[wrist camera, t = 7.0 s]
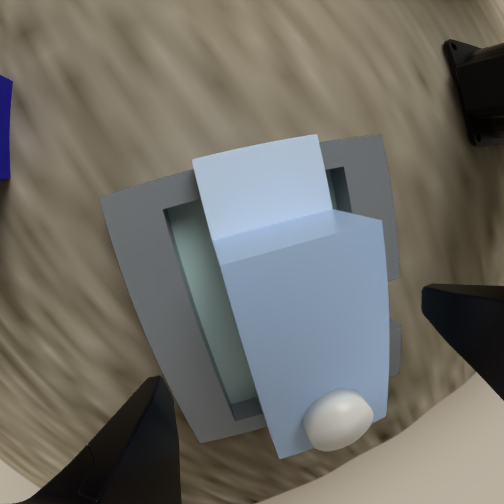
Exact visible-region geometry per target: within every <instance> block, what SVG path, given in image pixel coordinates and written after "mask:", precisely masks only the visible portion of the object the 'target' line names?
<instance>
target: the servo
mask: <svg viewBox="0 0 504 504" xmlns="http://www.w3.org/2000/svg"><path fill="white" fill-rule="evenodd" d="M192 164H193V168H194V172H195V176H196V180H197V184H198V188H199V192H200V196H201V200H202V204H203V208H204V212H205V216H206V220H207V224H208V227H209V233H210V236H211V240H212V244H213V248H214V251H215V255H216V259H217V262H218V266H219V270H220V273H221V277H222V280H223V284H224V287H225V291H226V294H227V298H228V301H229V305H230V308H231V312H232V315H233V319H234V322H235V326H236V329H237V332H238V336H239V339H240V342H241V346H242V349H243V352H244V356H245V359H246V362H247V365H248V369H249V372H250V375H251V378H252V381H253V384H254V387H255V390H256V393H257V396H258V399H259V403H260V406H261V409H262V412H263V415H264V418H265V421H266V424H267V427H268V430H269V433H270V436H271V439H272V442H273V443H274V446H275V449H276V451H277V454H278V457H279V460H280V459H283V458H286V457H289V456H292V455H295V454H298V453H301V452H304V451H307V450H310V449H313V448H316V449H317V450H320V451H334V450H338V449H341V448H344V447H346V446H348V445H350V444H352V443H353V442H355V441H356V440H358V439H359V438H360V437H361V436H362V435H363V434H364V433H365V432H366V431H367V430H368V428H369V427H370V425H371V424H372V423H374V422H376V421H378V420H380V419H382V418H384V417H386V411H387V398H388V380H389V298H388V280H387V266H386V254H385V244H384V235H383V226H382V220H378V219H374V218H370V217H365V216H361V215H357V214H352V213H348V212H343V211H339V210H334V209H332V203H331V198H330V192H329V187H328V182H327V177H326V172H325V167H324V163H323V158H322V154H321V149H320V145H319V140H318V136H317V134H314V135H308V136H302V137H296V138H290V139H284V140H279V141H273V142H268V143H263V144H258V145H253V146H248V147H243V148H239V149H234V150H230V151H225V152H221V153H217V154H213V155H209V156H205V157H201V158H197V159H193V160H192Z"/></svg>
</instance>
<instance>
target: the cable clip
mask: <svg viewBox="0 0 504 504" xmlns="http://www.w3.org/2000/svg"><path fill="white" fill-rule="evenodd" d="M12 84H13V81H11V80H9V79H7V78H5V77H3V76H1V75H0V181H2V180H5V179H9V178H11V177H10V154H9V130H10V107H11V94H12Z"/></svg>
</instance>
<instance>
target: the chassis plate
mask: <svg viewBox="0 0 504 504" xmlns="http://www.w3.org/2000/svg"><path fill="white" fill-rule="evenodd" d="M319 145H320V149H321V154H322V158H323V163H324V167H325V172H326V177H327V182H328V187H329V192H330V198H331V203H332V209H334V210H339V211H343V212H348V213H352V214H357V215H361V216H365V217H370V218H374V219H378V220H382V226H383V235H384V244H385V254H386V266H387V280H388V282H389V281H392V280H394V279H397V278H399V277H400V263H399V250H398V238H397V228H396V219H395V211H394V203H393V196H392V189H391V183H390V177H389V171H388V165H387V160H386V154H385V149H384V144H383V140H382V135H381V134H378V135H369V136H361V137H354V138H346V139H339V140H332V141H326V142H319ZM100 202H101V206H102V210H103V213H104V217H105V221H106V224H107V228H108V231H109V234H110V238H111V241H112V244H113V247H114V251H115V254H116V257H117V260H118V263H119V266H120V269H121V272H122V275H123V277H124V280H125V283H126V286H127V289H128V291H129V294H130V297H131V299H132V302H133V305H134V307H135V310H136V312H137V315H138V317H139V320H140V322H141V325H142V327H143V330H144V332H145V334H146V337H147V339H148V341H149V344H150V346H151V348H152V351H153V353H154V355H155V357H156V359H157V362H158V364H159V366H160V368H161V370H162V372H163V374H164V377H165V379H166V381H167V383H168V385H169V387H170V389H171V391H172V393H173V395H174V397H175V399H176V401H177V403H178V405H179V406H180V408H181V410H182V412H183V414H184V416H185V418H186V419H187V421H188V423H189V425H190V427H191V428H192V430H193V432H194V434H195V436H196V437H197V439H198V441H199V442H200V443H205V442H209V441H214V440H218V439H223V438H227V437H231V436H235V435H239V434H243V433H247V432H250V431H254V430H258V429H261V428H265V427H267V424H266V421H265V418H264V415H263V412H262V409H261V406H260V403H259V399H258V396H257V393H256V390H255V387H254V384H253V381H252V378H251V375H250V372H249V369H248V365H247V362H246V359H245V356H244V352H243V349H242V346H241V342H240V339H239V336H238V332H237V329H236V326H235V322H234V319H233V315H232V312H231V308H230V305H229V301H228V298H227V294H226V291H225V287H224V284H223V280H222V277H221V273H220V270H219V266H218V262H217V259H216V255H215V251H214V248H213V244H212V240H211V236H210V233H209V227H208V224H207V220H206V216H205V212H204V208H203V204H202V200H201V196H200V192H199V188H198V184H197V180H196V176H195V172H194V169H193V170H189V171H185V172H181V173H178V174H174V175H171V176H167V177H164V178H160V179H157V180H153V181H150V182H147V183H144V184H140V185H137V186H134V187H131V188H128V189H125V190H121V191H118V192H115V193H112V194H109V195H107V196H104V197H101V198H100ZM400 357H401V325H399V324H398V323H397V322H395V321H394V320H393V319H391V318H390V317H389V378H391V377H393V376H395V375H397V374H399V373H400Z"/></svg>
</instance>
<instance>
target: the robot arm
mask: <svg viewBox="0 0 504 504" xmlns="http://www.w3.org/2000/svg"><path fill="white" fill-rule="evenodd" d="M444 47H445V50H446V52H447V55H448V58H449V61H450V64H451V67H452V70H453V74H454V77H455V80H456V84H457V87H458V91H459V95H460V98H461V102H462V107H463V111H464V115H465V120H466V124H467V129H468V135H469V139H470V142H471V144H472V145H473V146H487V145H500V144H504V43H501V44H498V45H494V46H490V47H487V48H484V49H481V48H478V47H475V46H472V45H469V44H466V43H462V42H459V41H455V40H452V39H449V40H447V41H445V42H444ZM421 308H422V312H423V314H424V316H425V317H426V318H427V319H428V320H429V322H430V323H431V324H432V325H433V326H434V327H435V329H436V330H437V331H438V332H439V333H440V335H441V336H442V337H443V338H444V339H445V340H446V342H447V343H448V344H449V345H450V346H451V347H452V348H453V349H454V350H455V351H456V352H457V353H458V354H459V355H460V356H461V357H462V358H463V359H464V360H465V361H466V362H467V363H468V364H469V365H470V366H471V367H472V368H473V369H474V370H475V371H476V372H477V373H478V374H479V375H480V376H481V377H482V378H483V379H484V380H485V381H486V382H487V383H488V384H489V385H490V387H491V388H492V389H493V390H494V391H495V392H496V393H497V394H498V395H499V396H500V397H501V398H502V399H503V400H504V286H486V285H457V284H429V285H427V286H425V287H423V289H422V305H421ZM14 504H182V502H181V485H180V460H179V439H178V432H177V425H176V418H175V411H174V403H173V398H172V396H171V393H170V392H169V390H168V388H167V386H166V384H165V382H164V380H163V378H162V377H161V376H154V377H149V378H147V379H146V381H145V382H144V383H143V384H142V385H141V386H140V387H139V388H138V389H137V390H136V392H135V393H134V394H133V395H132V396H131V397H130V398H129V399H128V400H127V402H126V403H125V404H124V405H123V406H122V407H121V408H120V409H119V410H118V411H117V413H116V414H115V415H114V416H113V417H112V418H111V419H110V420H109V421H108V422H107V424H106V425H105V426H104V427H103V428H102V429H101V430H100V431H99V432H98V433H97V434H96V436H95V437H94V438H93V439H92V440H91V441H90V442H89V443H88V445H86V446H85V448H84V449H83V450H82V451H81V452H80V453H79V454H78V455H77V456H76V457H75V458H74V459H73V460H72V461H71V462H70V463H69V464H68V465H67V466H66V467H65V468H64V469H63V470H62V471H61V472H60V473H59V474H57V475H56V476H55V477H54V478H53V479H52V480H51V481H49V482H48V483H47V484H46V485H45V486H44V487H43V488H41V489H40V490H39V491H38V492H37V493H36V494H34V495H33V496H32V497H31V498H29V499H27V500H25V501H23V502H19V503H14Z"/></svg>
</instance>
